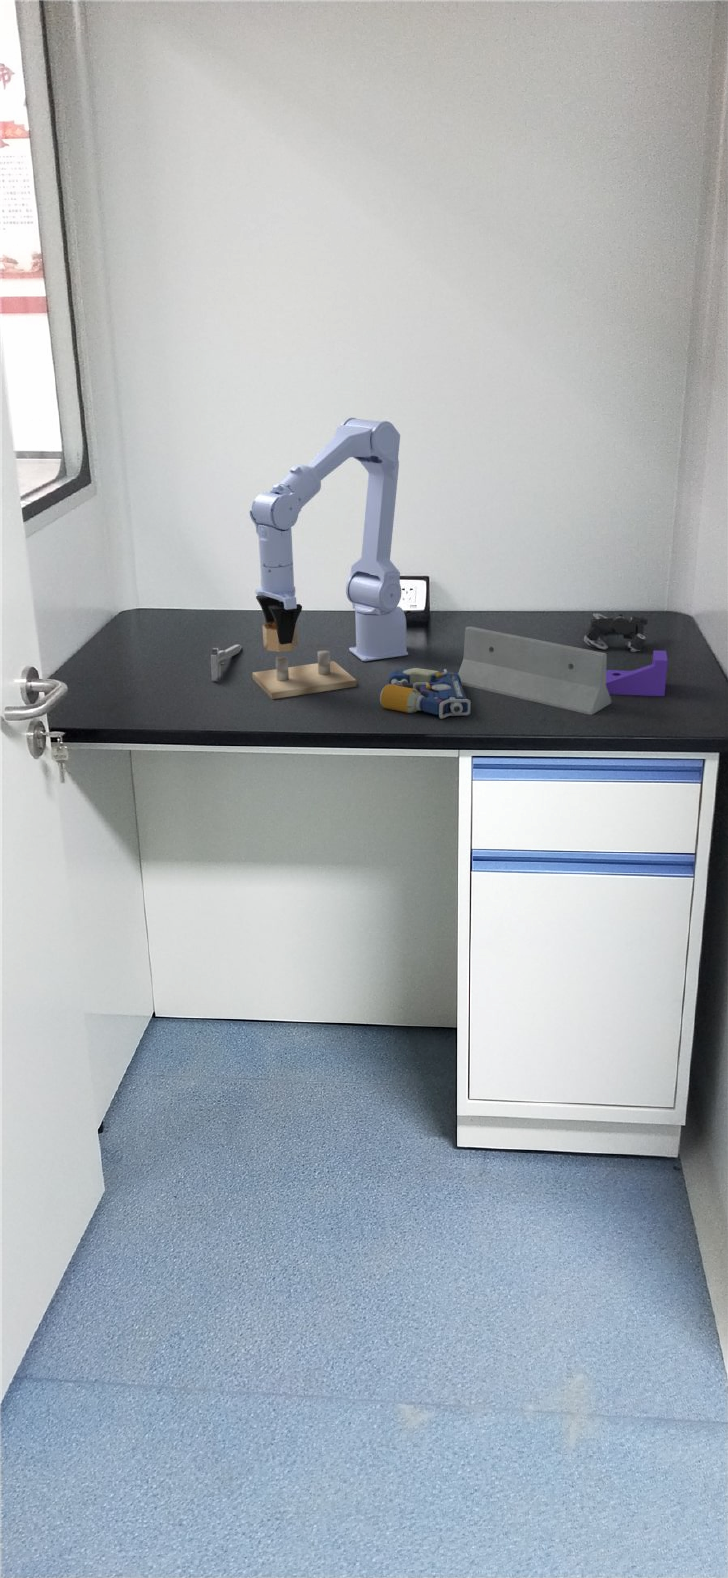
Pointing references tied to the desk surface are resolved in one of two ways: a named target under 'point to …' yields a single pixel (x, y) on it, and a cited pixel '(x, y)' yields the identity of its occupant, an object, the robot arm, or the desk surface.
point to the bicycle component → (617, 631)
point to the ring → (276, 638)
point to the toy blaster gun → (425, 692)
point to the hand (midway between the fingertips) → (280, 638)
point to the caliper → (221, 659)
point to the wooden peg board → (303, 677)
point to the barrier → (535, 670)
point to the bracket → (640, 678)
